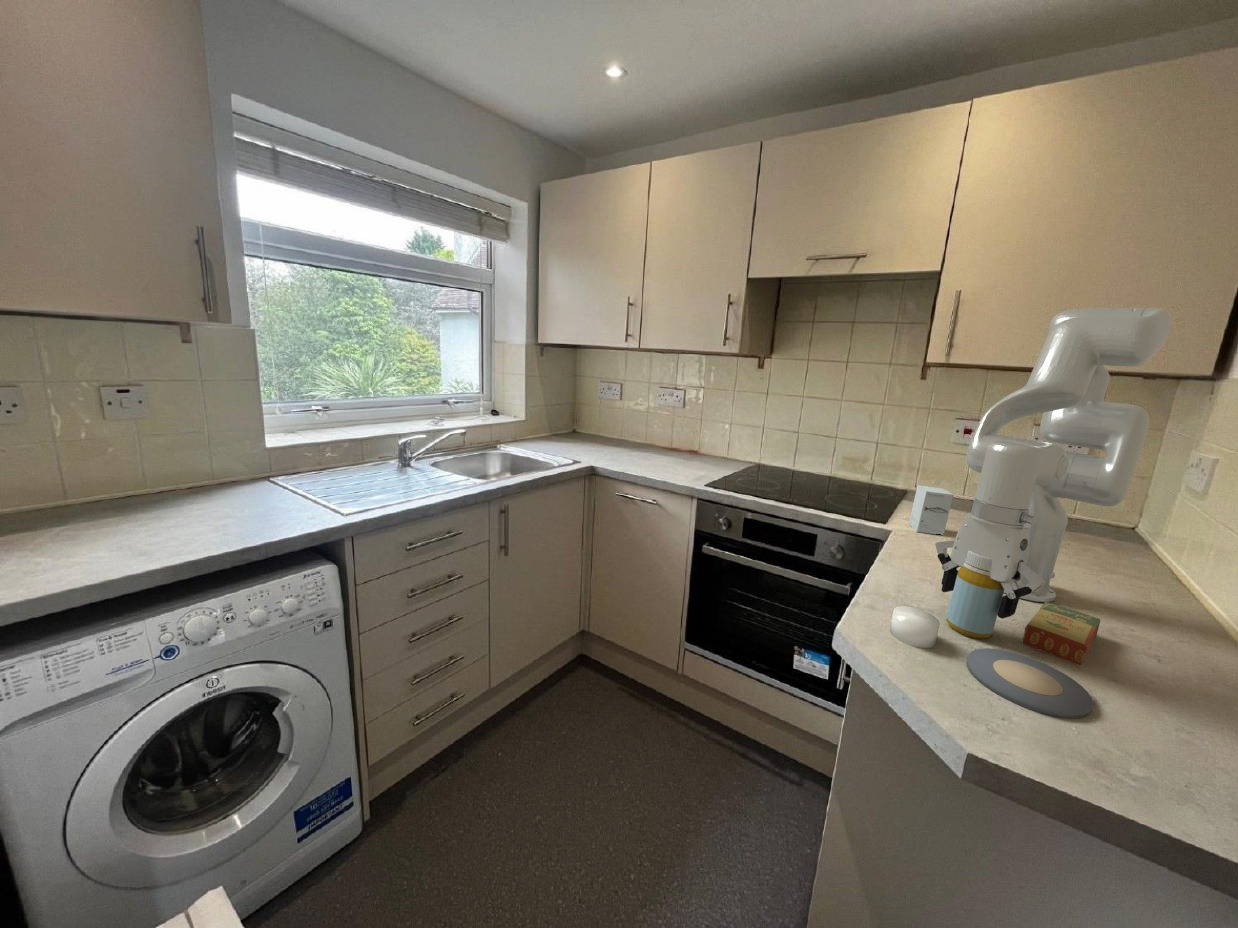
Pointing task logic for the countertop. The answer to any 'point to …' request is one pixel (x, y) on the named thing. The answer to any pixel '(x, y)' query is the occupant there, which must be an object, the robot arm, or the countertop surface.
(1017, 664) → the disc
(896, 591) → the countertop surface
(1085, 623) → the carton
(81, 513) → the countertop surface
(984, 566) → the bottle
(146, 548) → the countertop surface
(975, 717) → the countertop surface
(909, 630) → the white smooth round part
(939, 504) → the supplement box
